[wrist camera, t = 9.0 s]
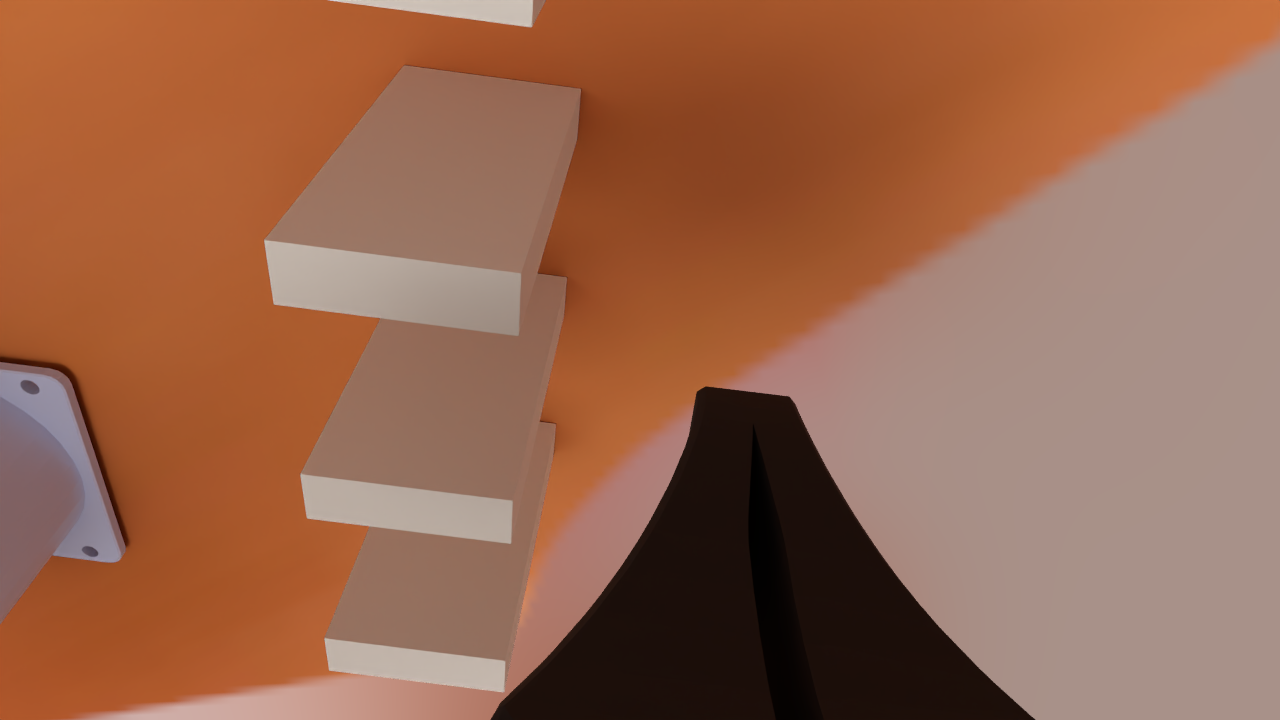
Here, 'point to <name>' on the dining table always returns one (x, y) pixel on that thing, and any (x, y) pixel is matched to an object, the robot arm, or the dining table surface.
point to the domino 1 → (468, 9)
